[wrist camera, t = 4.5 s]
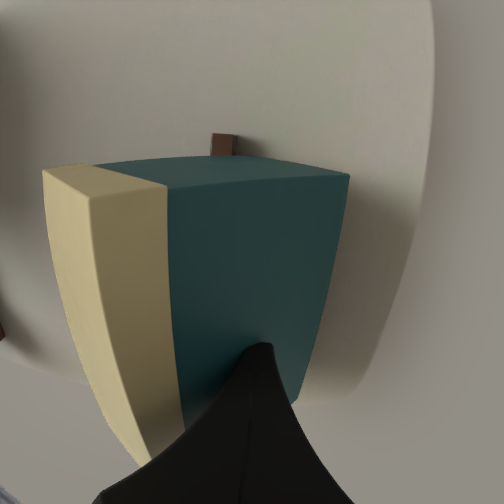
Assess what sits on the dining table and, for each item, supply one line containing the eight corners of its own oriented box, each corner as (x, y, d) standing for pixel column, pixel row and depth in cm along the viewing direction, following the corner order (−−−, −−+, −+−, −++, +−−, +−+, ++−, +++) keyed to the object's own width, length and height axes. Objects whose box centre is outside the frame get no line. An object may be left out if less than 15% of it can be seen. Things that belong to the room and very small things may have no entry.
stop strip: (222, 365, 18) (220, 376, 17) (207, 363, 18) (204, 373, 17) (237, 134, 13) (234, 134, 12) (215, 133, 13) (211, 133, 12)
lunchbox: (299, 400, 15) (172, 501, 8) (232, 356, 18) (109, 426, 11) (353, 172, 10) (87, 198, 4) (248, 152, 13) (42, 169, 7)
